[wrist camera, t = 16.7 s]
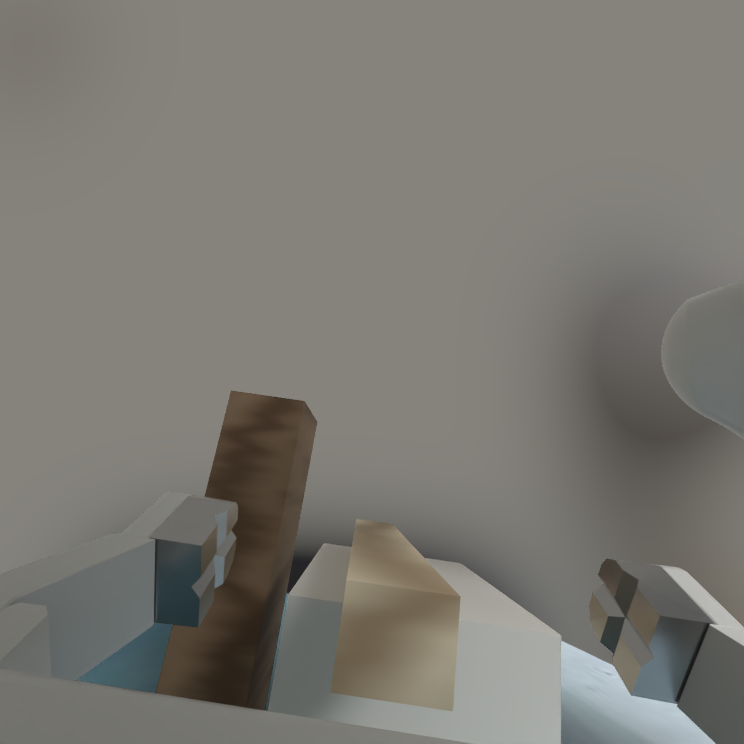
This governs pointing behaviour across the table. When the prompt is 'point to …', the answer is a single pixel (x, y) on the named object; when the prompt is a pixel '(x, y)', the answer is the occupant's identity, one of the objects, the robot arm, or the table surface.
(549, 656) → the white upright block
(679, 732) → the table surface
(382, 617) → the slat
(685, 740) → the table surface
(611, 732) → the table surface
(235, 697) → the post
